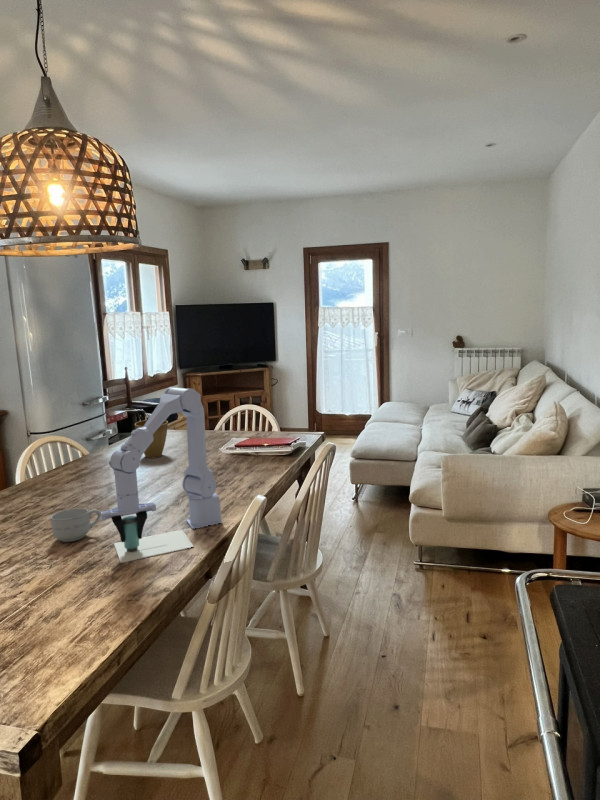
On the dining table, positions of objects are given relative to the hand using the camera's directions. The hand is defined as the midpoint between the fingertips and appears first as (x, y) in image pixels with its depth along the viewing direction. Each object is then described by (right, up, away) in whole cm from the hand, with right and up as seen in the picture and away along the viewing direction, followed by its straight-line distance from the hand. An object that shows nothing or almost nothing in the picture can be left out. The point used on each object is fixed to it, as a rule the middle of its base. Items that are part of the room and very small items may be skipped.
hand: (131, 539), depth 156 cm
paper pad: (+5, -3, +4) cm, 7 cm away
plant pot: (-21, +13, +105) cm, 108 cm away
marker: (0, -3, 0) cm, 3 cm away
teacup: (-20, -3, +12) cm, 23 cm away
